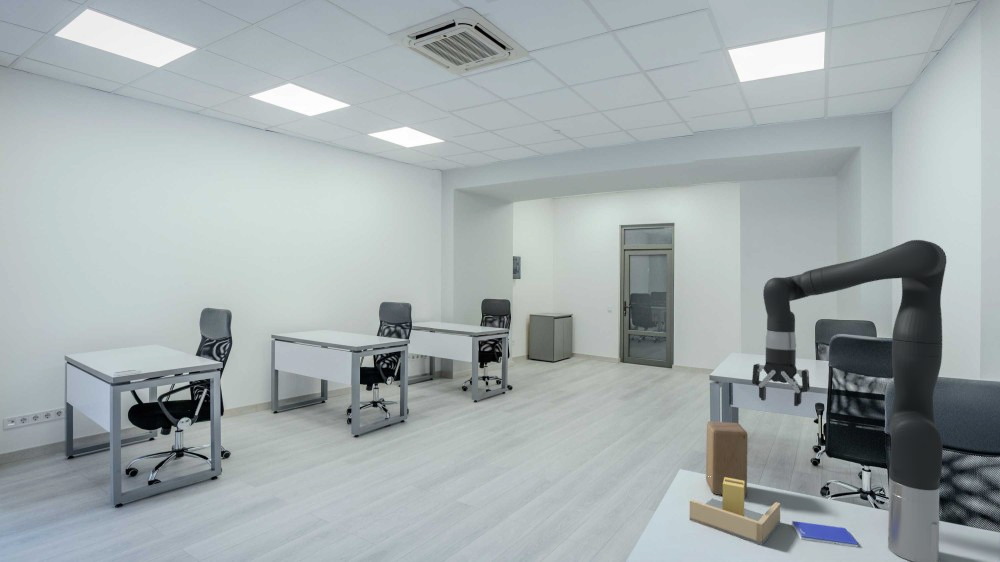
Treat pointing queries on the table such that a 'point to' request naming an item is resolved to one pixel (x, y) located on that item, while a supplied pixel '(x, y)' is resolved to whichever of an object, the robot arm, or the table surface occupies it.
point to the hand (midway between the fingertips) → (779, 402)
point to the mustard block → (733, 496)
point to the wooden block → (725, 454)
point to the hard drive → (824, 533)
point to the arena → (736, 520)
